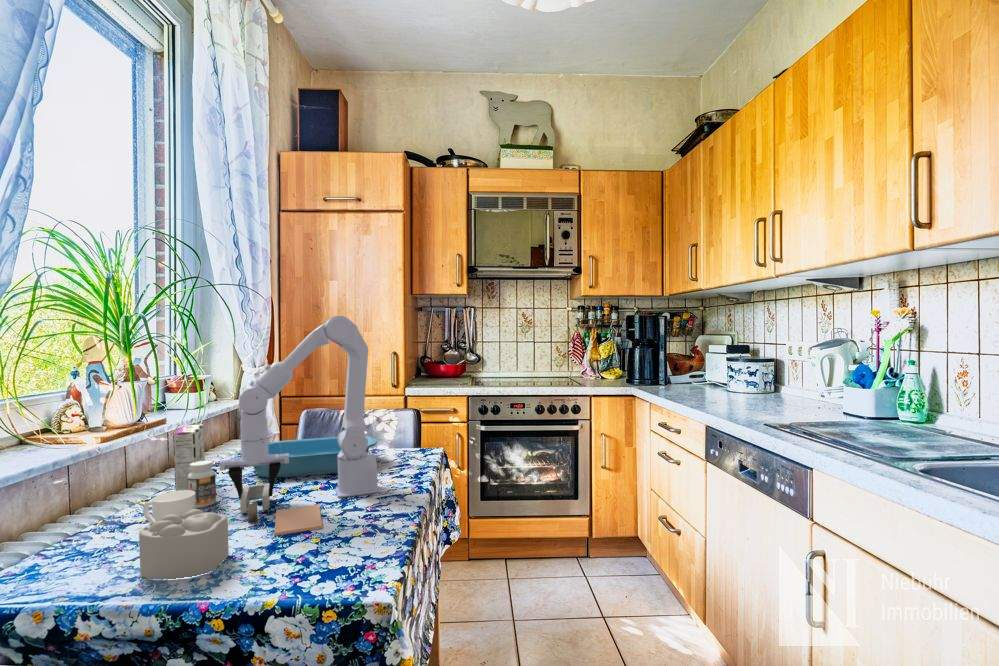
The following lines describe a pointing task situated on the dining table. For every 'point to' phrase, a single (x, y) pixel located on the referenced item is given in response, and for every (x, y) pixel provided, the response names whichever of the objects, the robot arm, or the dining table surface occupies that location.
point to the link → (255, 496)
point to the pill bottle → (202, 483)
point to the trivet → (297, 519)
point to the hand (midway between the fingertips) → (256, 497)
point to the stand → (252, 512)
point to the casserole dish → (307, 456)
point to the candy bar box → (187, 452)
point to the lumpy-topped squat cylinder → (183, 545)
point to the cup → (170, 504)
